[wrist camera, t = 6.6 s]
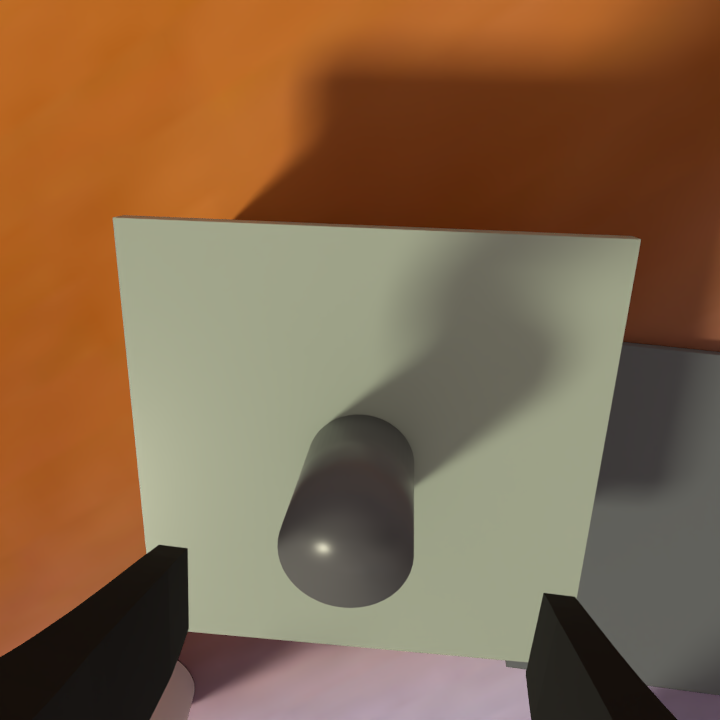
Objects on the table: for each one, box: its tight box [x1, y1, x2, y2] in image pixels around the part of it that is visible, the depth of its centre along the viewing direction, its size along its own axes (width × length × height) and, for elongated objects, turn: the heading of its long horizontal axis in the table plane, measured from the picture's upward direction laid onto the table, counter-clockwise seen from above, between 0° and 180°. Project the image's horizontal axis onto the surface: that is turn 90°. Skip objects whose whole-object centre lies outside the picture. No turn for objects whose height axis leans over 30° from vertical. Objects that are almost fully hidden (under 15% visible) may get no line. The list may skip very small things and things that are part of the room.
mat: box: [505, 342, 720, 695], centre depth 22 cm, size 14×13×1 cm
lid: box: [113, 215, 641, 662], centre depth 15 cm, size 13×13×5 cm
